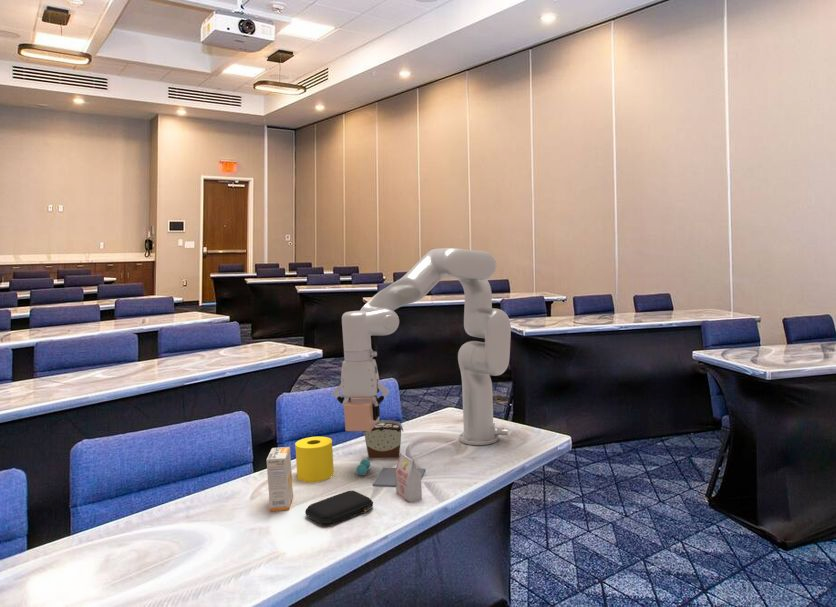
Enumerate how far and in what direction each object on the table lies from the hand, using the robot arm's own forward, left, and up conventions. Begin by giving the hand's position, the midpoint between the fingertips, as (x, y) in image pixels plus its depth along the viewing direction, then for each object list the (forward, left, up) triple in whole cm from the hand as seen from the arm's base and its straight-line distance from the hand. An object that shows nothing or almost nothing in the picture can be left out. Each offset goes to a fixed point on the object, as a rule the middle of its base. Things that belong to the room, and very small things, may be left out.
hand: (362, 418), depth 163 cm
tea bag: (-15, +15, -15) cm, 26 cm away
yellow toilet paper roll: (+13, +3, -15) cm, 21 cm away
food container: (-3, -14, -15) cm, 21 cm away
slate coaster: (-11, +4, -15) cm, 19 cm away
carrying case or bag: (-1, +26, -16) cm, 30 cm away
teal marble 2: (0, +2, -15) cm, 15 cm away
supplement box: (+15, +22, -15) cm, 31 cm away
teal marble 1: (0, -2, -15) cm, 15 cm away
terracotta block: (0, 0, -2) cm, 2 cm away
